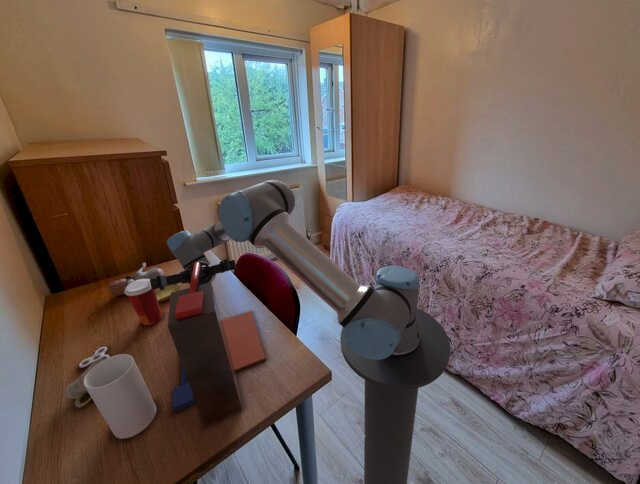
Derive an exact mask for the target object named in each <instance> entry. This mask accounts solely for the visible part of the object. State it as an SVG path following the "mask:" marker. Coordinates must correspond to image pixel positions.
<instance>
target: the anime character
mask: <svg viewBox="0 0 640 484" xmlns="http://www.w3.org/2000/svg"><path fill="white" fill-rule="evenodd" d="M146 267H147V263H146V262H142V263H141V267H140V268H139V269H138V271H136V272H135V273H134V275H132V276H131V275H126V276H125V277H124V278H119V279H118V280H113V281H110V282H109V283H108V289H109V292H110V294H111V295H113V296H114V297H120V296H124V295H126V294H125V293H124V292H125V289H126V287H127V286H128V285H129V284H130V283H132V282H134V281H136V280H140V279H150V280H151V279H156V277H157V276H165V272H164V270H163V269H162V268H159V267H156V266H154V267H153V268H151V269H148V270H146V271H143V270H144V269H146Z"/></svg>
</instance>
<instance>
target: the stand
mask: <svg viewBox="0 0 640 484" xmlns="http://www.w3.org/2000/svg"><path fill="white" fill-rule="evenodd" d="M212 282H213V281H212ZM212 282H210V283H206V284H202V285H199V286H197V291H196V292H201V291H203V293H204V304H203V313H201V314H197V315H193V316H189V317H185V318H181V319H176V316H175V310H176V306H177V302H178V298H179V296H182V295H187V294H188V293H189V288H190V287H188V288H185V289H183V288H182V289H183V290H179V291H175V292H172V293H171V294H170V298H169V307H168V317H167V328H168V331H169V333H170V336H171V338H172V341H173V344H174V346H175V347H174V348H175V350H176V352H177V355H178V358H179V360H180V363H181V367H182V366H183V368H184V371H185V374H186V376H187V383H189V384H190V387H191V390H192V393H193V395H194V398H195V404H196V405H197V408H198V412H199V414H200V417H201V419H202V422H203V425H204V426H206V425H208V424H210V423H211V424H212V423H213V422H216V421H217V420H219V419H222V418H224V417H226V416H229V415H231V414H233V413H235V412H238V411H239V410H242V409H243V405H242V400H241V394H240V389H239V383H238V378H237V373H236V372H237V371H235V368H234V364H233V361H232V357H231V353H230V349H229V346H228V342H227V338H226V334H225V331H224V327H223V323H222V320H223V319H222V316H221V312H220V308H219V305H218V304H219V303H218V301H217V298H216V294H215V289H214V286H213V283H212Z"/></svg>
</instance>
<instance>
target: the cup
mask: <svg viewBox="0 0 640 484" xmlns="http://www.w3.org/2000/svg"><path fill="white" fill-rule="evenodd" d="M106 358H107V357H106ZM84 386H85V388H86V389H87V391H88V393H87V394H88V395H89V396H90V397H91V398H92V401H93V402H94V404H95V406H96V407H97V409H98V411H99V413H100V414H101V416H102V418H103V419H104V421H105V423H106V425H107V426H108V427H109V429H110V430H111V432H112V434H113V436H114V437H115V438H117V439H129V438H132V437H134V436H136V435H138V434H139V433H141V432H142V431H144V430H145V429H146V428H148V426H150V425H151V423H152V422H153V420H154V419H155V417H156V414H157V406H156V403H155V401H154V399H153V397H152V395H151V393H150V390H149V388H148V386H147V384H146V382H145V380H144V378H143V375H142V374H141V372H140V369H139V367H138V365H137V363H136V361H135V358H134V357H133V355H130V354H128V353H120V354H116V355H112V356H110V357H109V358H107V359H105V360H103V361H101V362H100V363H98V364H97V365H95V366H94V367H93V368H92V369H91V370H90V371H89V372H88V373H87V374H86V376H85V378H84Z"/></svg>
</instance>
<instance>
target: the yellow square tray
mask: <svg viewBox="0 0 640 484" xmlns="http://www.w3.org/2000/svg"><path fill="white" fill-rule="evenodd" d="M164 288H165V289H164V290H160V288H156V289H155V292H156V296H157V299H158V302H161V303H162V302H165V301H167V300H170V294H171V293H172V292H175V291H179V290H183V288H182V286H181V285H180V284H179V283H178V284H176V285H169V286H166V287H164Z"/></svg>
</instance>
